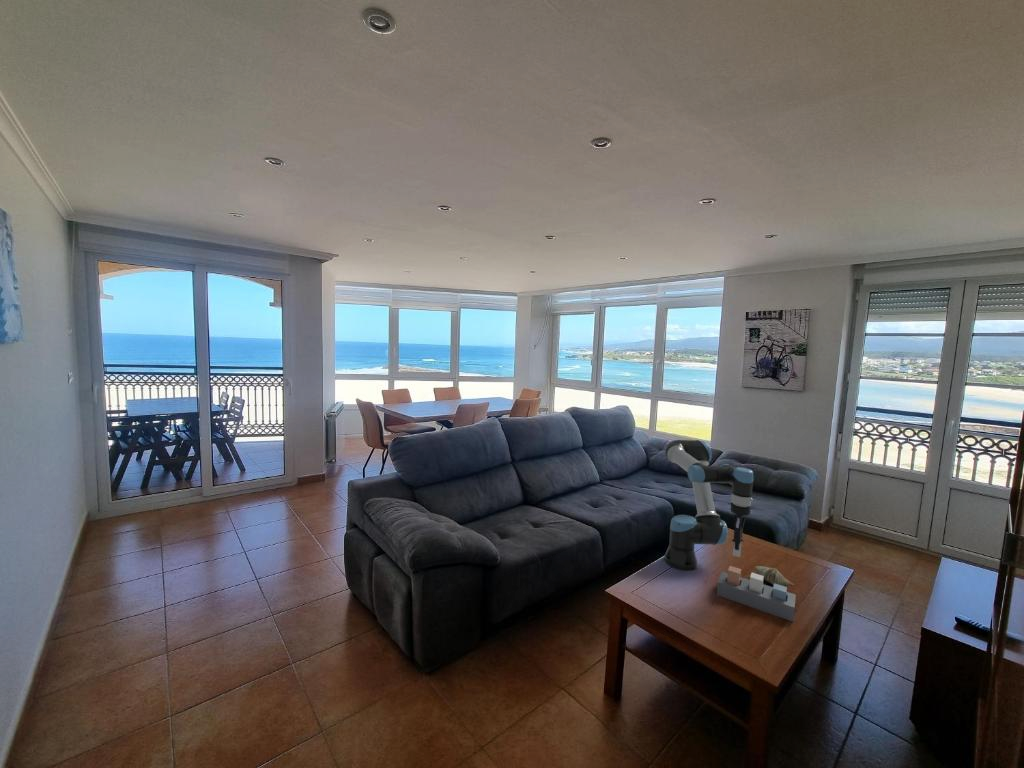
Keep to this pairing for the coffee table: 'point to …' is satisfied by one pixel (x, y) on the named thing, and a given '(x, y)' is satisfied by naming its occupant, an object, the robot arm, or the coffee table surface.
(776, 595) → the blue key
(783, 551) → the coffee table surface
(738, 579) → the salmon brown block
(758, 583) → the white key
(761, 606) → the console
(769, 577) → the seashell
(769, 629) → the coffee table surface
